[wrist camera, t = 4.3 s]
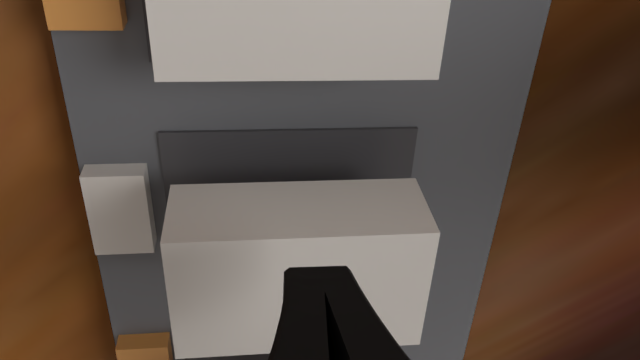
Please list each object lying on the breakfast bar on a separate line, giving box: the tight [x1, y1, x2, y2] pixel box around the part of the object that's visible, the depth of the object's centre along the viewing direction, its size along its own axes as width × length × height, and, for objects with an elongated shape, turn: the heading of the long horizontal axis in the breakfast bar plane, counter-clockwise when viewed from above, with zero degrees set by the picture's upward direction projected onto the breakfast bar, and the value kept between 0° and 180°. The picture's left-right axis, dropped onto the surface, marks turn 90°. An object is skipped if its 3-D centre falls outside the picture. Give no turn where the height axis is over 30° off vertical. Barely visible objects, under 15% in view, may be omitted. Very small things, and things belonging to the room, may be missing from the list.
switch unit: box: [42, 0, 551, 360], centre depth 22 cm, size 15×26×2 cm, turn 178°
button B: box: [160, 178, 440, 359], centre depth 18 cm, size 8×4×3 cm, turn 88°
